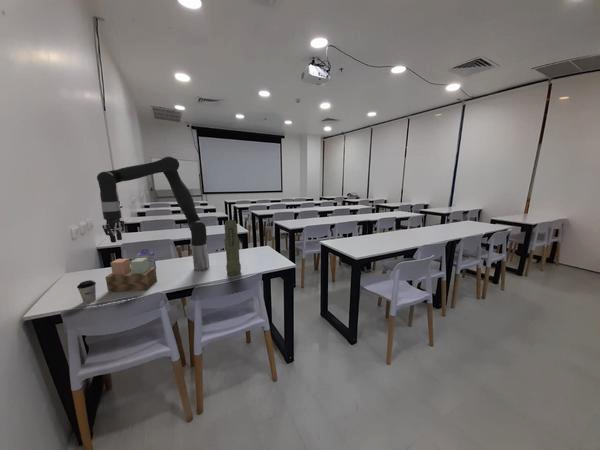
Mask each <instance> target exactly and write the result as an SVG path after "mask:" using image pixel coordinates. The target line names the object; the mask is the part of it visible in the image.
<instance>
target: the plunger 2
mask: <svg viewBox="0 0 600 450" xmlns="http://www.w3.org/2000/svg"><path fill="white" fill-rule="evenodd" d="M130 266H131V270H132V274H144V273H146V272H147V271H148V270H150V269H149V262H148V258H136V257H135V259H132V260H130Z"/></svg>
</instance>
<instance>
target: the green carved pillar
mask: <svg viewBox="0 0 600 450" xmlns="http://www.w3.org/2000/svg"><path fill="white" fill-rule="evenodd" d="M223 228H224V234H225V235H224V248H225V254H226V255H225V257H226V266H225V267H226V275H227V276H229V277H236V276H239V275H241V274H242V272H241V271H242V267H241V265H242V264H241V263H240V238H239V234H238V224H237V221H236V220H235V219H228V220H226V221H225V222H224V227H223Z"/></svg>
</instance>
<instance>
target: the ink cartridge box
mask: <svg viewBox="0 0 600 450" xmlns="http://www.w3.org/2000/svg"><path fill="white" fill-rule="evenodd" d="M136 258H148V262H149V268H152V267H155V268H156V269H157V264H156V257H155V252H154V251H150V252H149V249H147V248H145V249H141V252H140V253H137V254H136V255H135V259H136Z"/></svg>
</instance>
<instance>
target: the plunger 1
mask: <svg viewBox="0 0 600 450" xmlns="http://www.w3.org/2000/svg"><path fill="white" fill-rule="evenodd" d="M130 262H131V260H130V257H129V258H117V259H115V260H112V261H111V262H110V267H111V273H112V274H113V275H123V274H126V273H128V272H129V271H131V263H130Z"/></svg>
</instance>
